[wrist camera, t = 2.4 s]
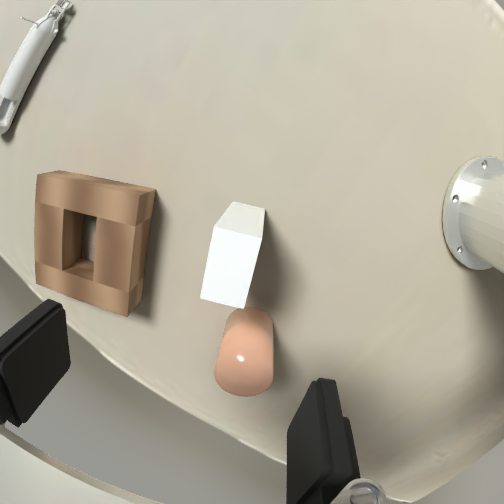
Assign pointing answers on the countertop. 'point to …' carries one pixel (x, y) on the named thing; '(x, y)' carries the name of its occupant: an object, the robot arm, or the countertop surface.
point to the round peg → (246, 353)
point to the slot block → (106, 238)
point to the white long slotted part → (27, 62)
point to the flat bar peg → (233, 255)
